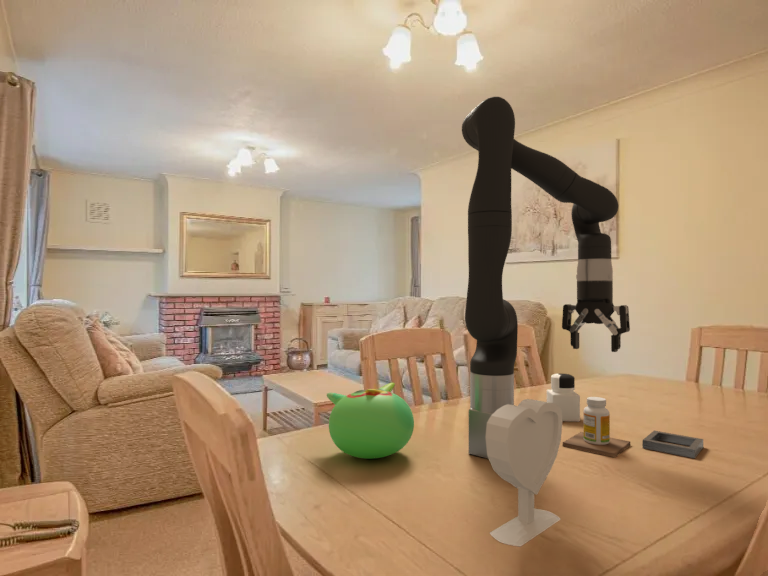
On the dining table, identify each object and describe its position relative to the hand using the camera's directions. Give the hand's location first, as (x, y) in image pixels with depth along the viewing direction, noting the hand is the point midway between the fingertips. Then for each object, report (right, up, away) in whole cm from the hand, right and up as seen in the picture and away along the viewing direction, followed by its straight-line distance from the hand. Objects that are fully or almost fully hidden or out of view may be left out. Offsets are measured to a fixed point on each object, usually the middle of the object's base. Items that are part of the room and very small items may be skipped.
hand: (594, 350), depth 109 cm
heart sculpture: (-27, -21, -38) cm, 52 cm away
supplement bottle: (0, -21, -2) cm, 21 cm away
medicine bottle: (+1, -22, +22) cm, 31 cm away
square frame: (+16, -21, -3) cm, 27 cm away
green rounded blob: (-51, -21, -8) cm, 56 cm away
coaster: (0, -21, -2) cm, 21 cm away
